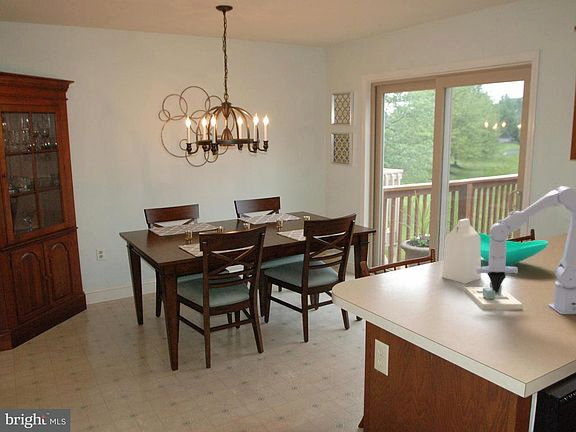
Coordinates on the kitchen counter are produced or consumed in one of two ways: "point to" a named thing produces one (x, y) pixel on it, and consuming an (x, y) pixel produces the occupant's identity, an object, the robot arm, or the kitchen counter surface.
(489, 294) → the tab
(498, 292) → the tab
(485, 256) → the table top decor
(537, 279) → the kitchen counter surface
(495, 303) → the switch panel
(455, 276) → the milk
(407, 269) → the kitchen counter surface
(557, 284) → the robot arm
